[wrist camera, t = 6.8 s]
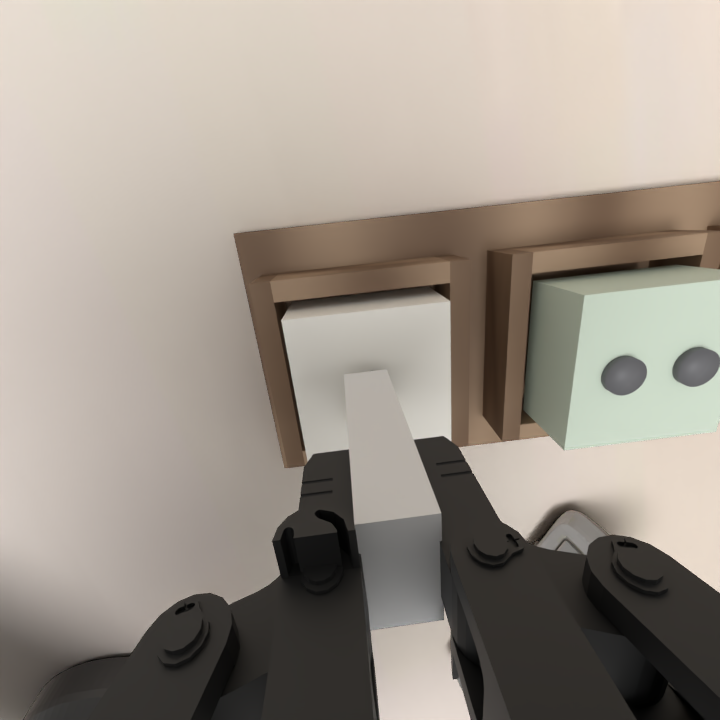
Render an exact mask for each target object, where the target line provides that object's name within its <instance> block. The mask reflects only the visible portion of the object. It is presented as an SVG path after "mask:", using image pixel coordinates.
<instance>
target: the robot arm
mask: <svg viewBox="0 0 720 720" xmlns="http://www.w3.org/2000/svg"><path fill="white" fill-rule="evenodd" d="M344 386H345V400H346V414H347V428H348V442H349V449H347V450H340V451H332V452H324V453H316V454H313V455H312V456H311V458H310V459H309V461H308V462H307V464H306V465H305V467H304V471H303V480H302V488H301V498H300V504H299V510H298V511H297V512H295V513H293V514H292V515H290V516H288V517H287V518H286V519H285V520H284V522H283V523H282V524H281V525H280V526H279V527H278V528H277V531H276V533H275V536H274V538H273V540H272V542H273V546H274V550H275V554H276V558H277V562H278V566H279V570H280V574H281V575H280V576H279V577H278V578H277V579H276V580H274V581H273V582H272V583H271V584H270V585H268V586H267V587H265V588H263V589H261V590H260V591H258V592H256V593H254V594H252V595H250V596H247V597H245V598H243V599H241V600H239V601H236V602H234V603H232V604H230V605H228V604H227V603H226V601H225V600H224V599H223V597H220V596H217V595H214V594H211V593H206V594H196V595H193V596H190V597H188V598H186V599H183V600H181V601H179V602H177V603H176V604H174V605H173V606H172V607H170V608H169V609H168V610H166V611H165V612H164V613H162V614H161V615H160V616H159V617H158V618H157V620H156V621H155V622H154V623H153V624H152V625H151V627H150V628H149V629H148V630H147V631H146V633H145V634H144V636H143V637H142V639H141V640H140V642H139V643H138V645H137V646H136V648H135V649H134V651H133V652H132V654H131V655H130V657H115V658H106V659H100V660H95V661H90V662H87V663H83V664H80V665H77V666H75V667H72V668H70V669H68V670H66V671H64V672H62V673H60V674H59V675H57V676H56V677H54V678H53V679H52V680H50V681H49V682H48V683H47V684H46V685H45V686H44V688H43V689H42V690H41V692H40V693H39V695H38V697H37V698H36V700H35V701H34V703H33V705H32V706H31V708H30V709H29V711H28V712H27V714H26V716H25V717H24V719H23V720H380V719H379V708H378V698H377V687H376V677H375V667H374V659H373V652H372V643H371V632H370V630H376V629H383V628H390V627H397V626H404V625H410V624H417V623H424V622H431V621H438V620H444V608H445V611H446V615H447V618H448V622H449V625H450V628H451V665H452V676H453V679H460V682H461V686H462V689H463V693H464V697H465V700H466V704H467V707H468V711H469V715H470V718H471V720H720V593H719V592H717V591H716V590H715V589H713V588H712V587H711V586H709V585H708V584H706V583H705V582H704V581H702V580H701V579H700V578H698V577H697V576H696V575H694V574H693V573H692V572H690V571H689V570H688V569H686V568H685V567H684V566H682V565H681V564H680V563H678V562H677V561H676V560H674V559H673V558H672V557H670V556H669V555H667V554H665V553H664V552H662V551H660V550H659V549H657V548H655V547H654V546H652V545H650V544H648V543H645V542H642V541H639V540H637V539H634V538H631V537H625V536H618V535H609V536H603V537H598V538H597V539H595V540H594V541H593V542H592V543H590V544H589V546H588V551H587V555H583V554H577V553H570V552H563V551H556V550H550V549H546V548H541V547H537V546H535V545H532V544H530V543H527V542H526V540H525V539H524V538H523V537H522V536H521V535H520V534H519V532H517V531H516V530H514V529H513V528H511V527H509V526H508V525H506V524H504V523H502V522H501V521H500V519H499V518H498V516H497V514H496V512H495V511H494V509H493V507H492V505H491V504H490V502H489V500H488V498H487V497H486V495H485V493H484V491H483V490H482V488H481V486H480V484H479V483H478V481H477V479H476V477H475V476H474V474H472V470H471V469H470V467H469V465H468V463H467V462H466V461H465V458H464V456H463V455H462V453H461V451H460V449H459V448H458V446H457V445H455V444H454V443H453V442H451V441H450V440H449V439H447V438H446V437H444V436H439V437H431V438H423V439H415V440H413V437H412V434H411V432H410V429H409V426H408V424H407V421H406V418H405V416H404V413H403V411H402V408H401V405H400V403H399V400H398V397H397V395H396V392H395V389H394V387H393V384H392V382H391V379H390V376H389V374H388V371H387V369H385V370H376V371H368V372H360V373H352V374H344Z"/></svg>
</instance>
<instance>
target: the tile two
mask: <svg viewBox="0 0 720 720" xmlns="http://www.w3.org/2000/svg"><path fill="white" fill-rule="evenodd" d="M523 410H524V411H525V412H526V413H527V414H528V415H529V416H530V417H531V418H532V419H533V420H534V421H535V422H536V423H537V424H538V425H539V426H540V427H541V428H542V429H543V430H544V431H545V432H546V433H547V434H548V435H549V436H550V437H551V438H552V439H553V440H554V441H555V442H556V443H557V444H558V445H559V446H560V447H561V448H562V449H563V450H571V449H579V448H588V447H596V446H604V445H612V444H620V443H628V442H636V441H645V440H653V439H661V438H669V437H677V436H685V435H693V434H701V433H710V432H716V430H717V427H718V424H719V420H720V270H719V269H711V268H702V267H694V266H685V265H668V266H659V267H650V268H641V269H633V270H624V271H615V272H606V273H597V274H588V275H579V276H570V277H561V278H553V279H544V280H535V281H533V288H532V301H531V314H530V327H529V340H528V353H527V366H526V379H525V392H524V405H523Z"/></svg>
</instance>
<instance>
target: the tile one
mask: <svg viewBox="0 0 720 720" xmlns="http://www.w3.org/2000/svg"><path fill="white" fill-rule="evenodd" d="M281 322H282V328H283V333H284V338H285V344H286V349H287V354H288V360H289V365H290V370H291V376H292V381H293V386H294V392H295V397H296V402H297V408H298V413H299V418H300V424H301V429H302V434H303V440H304V445H305V450H306V456H307V461H309V459H310V458H311V456H312V455H313V454H316V453H324V452H332V451H340V450H347V449H349V442H348V428H347V414H346V400H345V386H344V374H352V373H360V372H368V371H376V370H385V369H387V371H388V374H389V376H390V379H391V382H392V384H393V387H394V389H395V392H396V395H397V397H398V400H399V403H400V405H401V408H402V411H403V413H404V416H405V418H406V421H407V424H408V426H409V429H410V432H411V434H412V437H413V440H415V439H423V438H431V437H439V436H444V437H446V438H447V439H449V440H450V441H451V322H450V301H449V300H448V299H446V298H445V297H443V296H442V295H440V294H439V293H437V292H436V291H434V290H433V289H431V288H430V287H420V288H411V289H402V290H393V291H384V292H375V293H366V294H358V295H349V296H340V297H331V298H322V299H313V300H304V301H295V302H292V303H291V304H290V306H289V308H288V310H287V311H286V313H285V315H284V316H283V318H282V320H281Z"/></svg>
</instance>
